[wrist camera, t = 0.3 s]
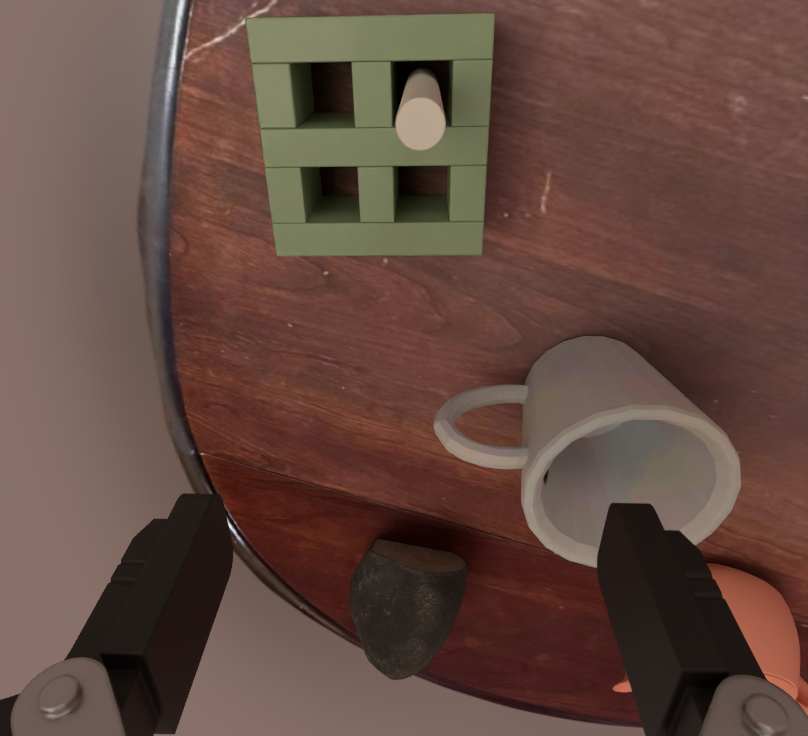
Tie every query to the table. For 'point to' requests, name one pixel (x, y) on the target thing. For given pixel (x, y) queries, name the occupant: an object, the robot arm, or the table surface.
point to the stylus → (421, 112)
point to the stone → (405, 604)
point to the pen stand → (371, 133)
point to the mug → (603, 446)
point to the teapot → (760, 629)
